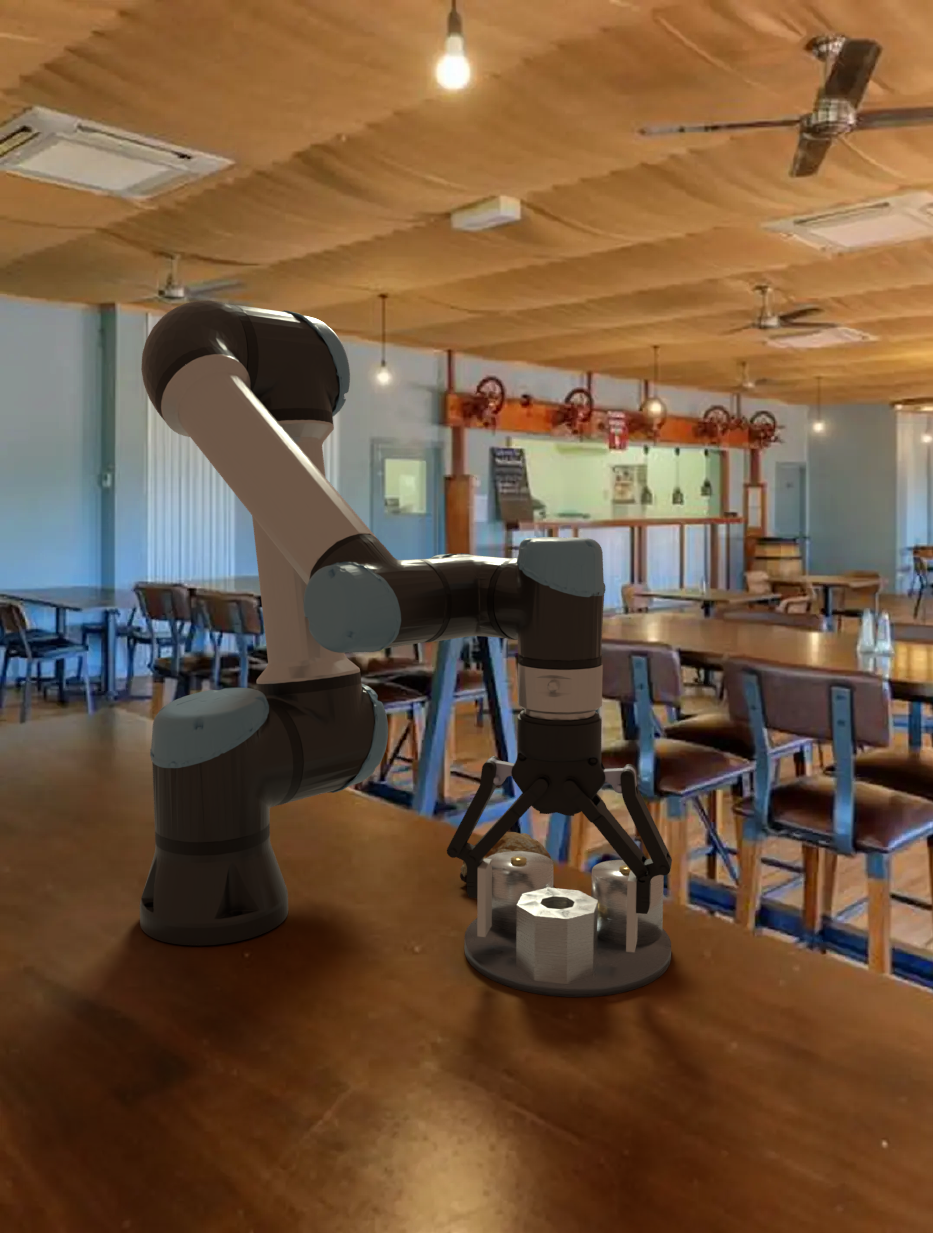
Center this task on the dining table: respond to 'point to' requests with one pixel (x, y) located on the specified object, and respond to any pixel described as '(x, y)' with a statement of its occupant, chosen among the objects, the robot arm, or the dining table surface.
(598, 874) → the carrier
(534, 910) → the octagonal metal nut
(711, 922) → the dining table surface
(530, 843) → the bread roll
